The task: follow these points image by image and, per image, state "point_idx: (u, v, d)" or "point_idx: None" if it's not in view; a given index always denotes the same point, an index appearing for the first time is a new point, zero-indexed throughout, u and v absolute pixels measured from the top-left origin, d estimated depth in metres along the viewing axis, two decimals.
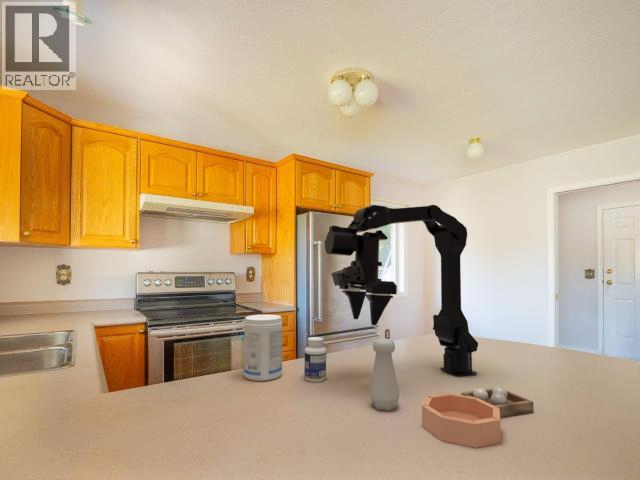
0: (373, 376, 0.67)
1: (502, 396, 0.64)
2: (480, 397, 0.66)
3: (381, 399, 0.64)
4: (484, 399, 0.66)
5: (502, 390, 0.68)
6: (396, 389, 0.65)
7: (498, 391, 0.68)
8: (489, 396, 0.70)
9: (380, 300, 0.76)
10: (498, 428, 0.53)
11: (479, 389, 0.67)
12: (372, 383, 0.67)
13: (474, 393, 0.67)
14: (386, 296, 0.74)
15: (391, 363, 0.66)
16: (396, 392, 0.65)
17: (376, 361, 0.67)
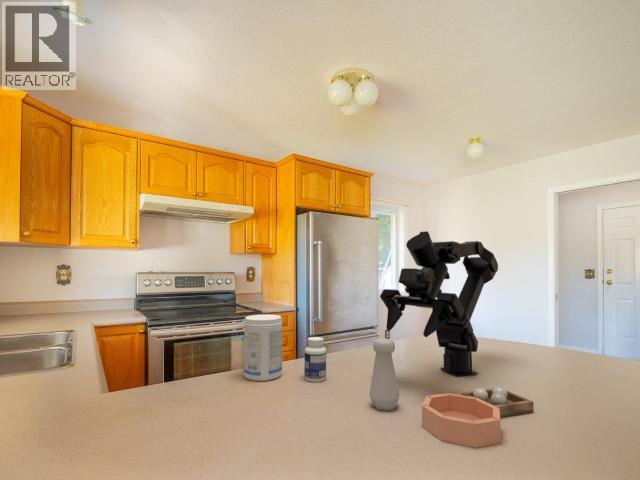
0: (373, 376, 0.67)
1: (502, 396, 0.64)
2: (480, 397, 0.66)
3: (381, 399, 0.64)
4: (484, 399, 0.66)
5: (502, 390, 0.68)
6: (396, 389, 0.65)
7: (498, 391, 0.68)
8: (489, 396, 0.70)
9: (440, 317, 0.72)
10: (498, 428, 0.53)
11: (479, 389, 0.67)
12: (372, 383, 0.67)
13: (474, 393, 0.67)
14: (452, 315, 0.72)
15: (391, 363, 0.66)
16: (396, 392, 0.65)
17: (376, 361, 0.67)
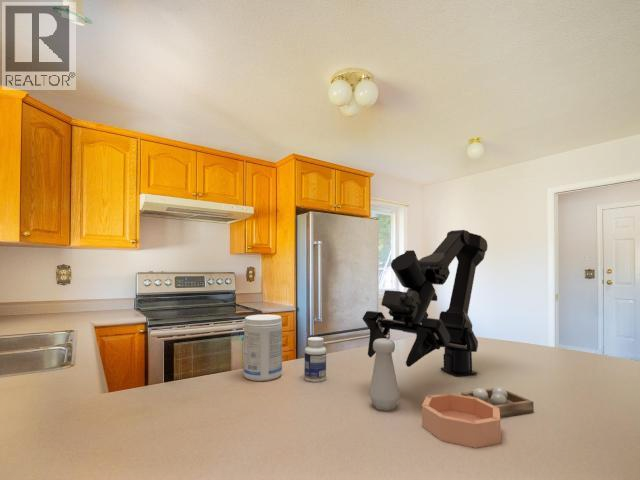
0: (373, 376, 0.67)
1: (502, 396, 0.64)
2: (480, 397, 0.66)
3: (381, 399, 0.64)
4: (484, 399, 0.66)
5: (502, 390, 0.68)
6: (396, 389, 0.65)
7: (498, 391, 0.68)
8: (489, 396, 0.70)
9: (425, 344, 0.67)
10: (498, 428, 0.53)
11: (479, 389, 0.67)
12: (372, 383, 0.67)
13: (474, 393, 0.67)
14: (437, 342, 0.66)
15: (391, 363, 0.66)
16: (396, 392, 0.65)
17: (376, 361, 0.67)
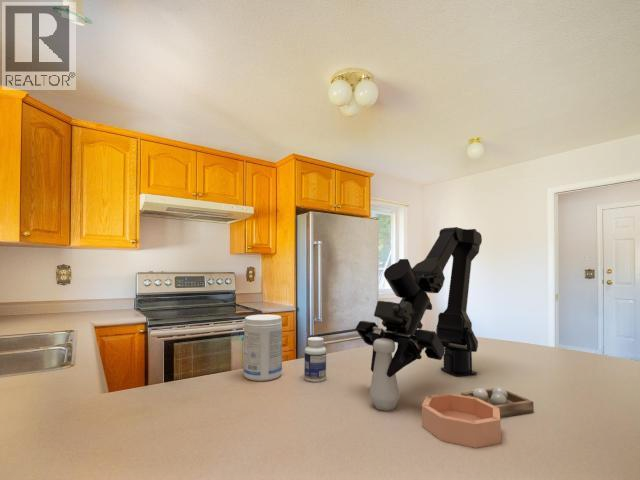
0: (373, 376, 0.67)
1: (502, 396, 0.64)
2: (480, 397, 0.66)
3: (381, 399, 0.64)
4: (484, 399, 0.66)
5: (502, 390, 0.68)
6: (396, 389, 0.65)
7: (498, 391, 0.68)
8: (489, 396, 0.70)
9: (406, 354, 0.67)
10: (498, 428, 0.53)
11: (479, 389, 0.67)
12: (372, 383, 0.67)
13: (474, 393, 0.67)
14: (418, 352, 0.66)
15: None
16: (396, 392, 0.65)
17: (376, 361, 0.67)
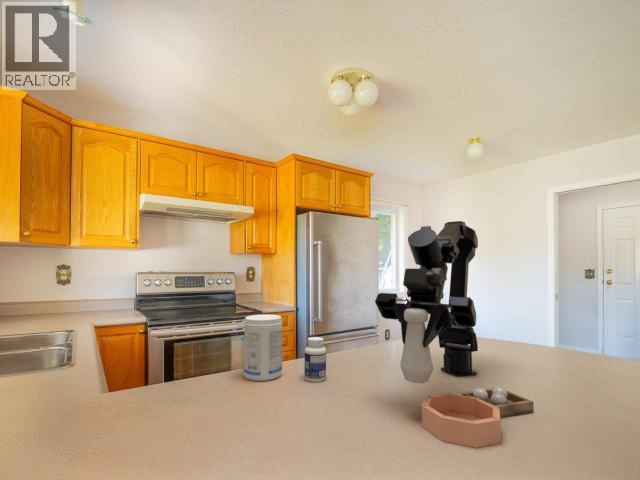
0: (406, 348, 0.62)
1: (502, 396, 0.64)
2: (480, 397, 0.66)
3: (418, 371, 0.60)
4: (484, 399, 0.66)
5: (502, 390, 0.68)
6: (430, 360, 0.62)
7: (498, 391, 0.68)
8: (489, 396, 0.70)
9: (437, 323, 0.64)
10: (498, 428, 0.53)
11: (479, 389, 0.67)
12: (405, 355, 0.62)
13: (474, 393, 0.67)
14: (450, 320, 0.64)
15: None
16: (431, 363, 0.61)
17: (409, 332, 0.62)
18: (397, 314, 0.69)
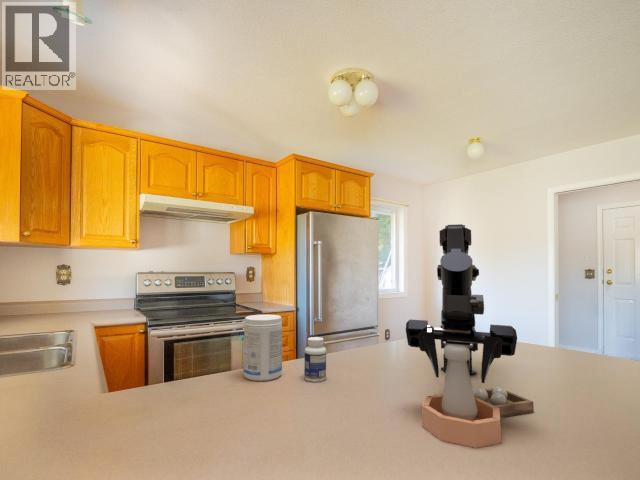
0: (450, 389, 0.57)
1: (502, 396, 0.64)
2: (480, 397, 0.66)
3: (467, 415, 0.56)
4: (484, 399, 0.66)
5: (502, 390, 0.68)
6: None
7: (498, 391, 0.68)
8: (489, 396, 0.70)
9: None
10: (498, 428, 0.53)
11: (479, 389, 0.67)
12: (450, 398, 0.57)
13: (474, 393, 0.67)
14: None
15: (468, 371, 0.58)
16: (475, 403, 0.58)
17: (453, 371, 0.58)
18: (421, 342, 0.64)
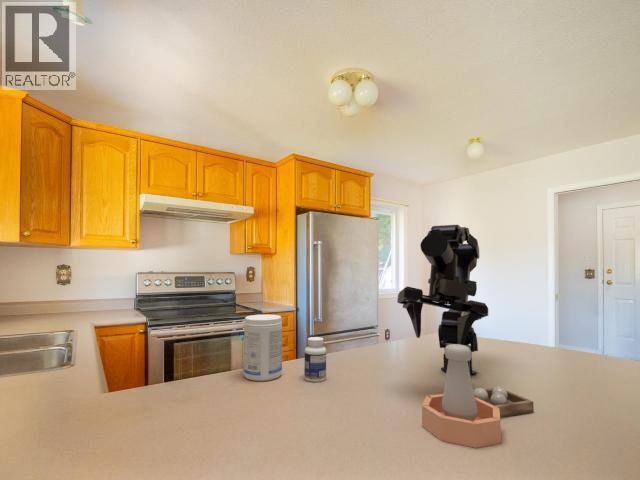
0: (451, 389, 0.57)
1: (502, 396, 0.64)
2: (480, 397, 0.66)
3: (467, 415, 0.56)
4: (484, 399, 0.66)
5: (502, 390, 0.68)
6: None
7: (498, 391, 0.68)
8: (489, 396, 0.70)
9: None
10: (498, 428, 0.53)
11: (479, 389, 0.67)
12: (450, 398, 0.57)
13: (474, 393, 0.67)
14: None
15: (469, 372, 0.58)
16: None
17: (454, 372, 0.58)
18: (407, 305, 0.75)
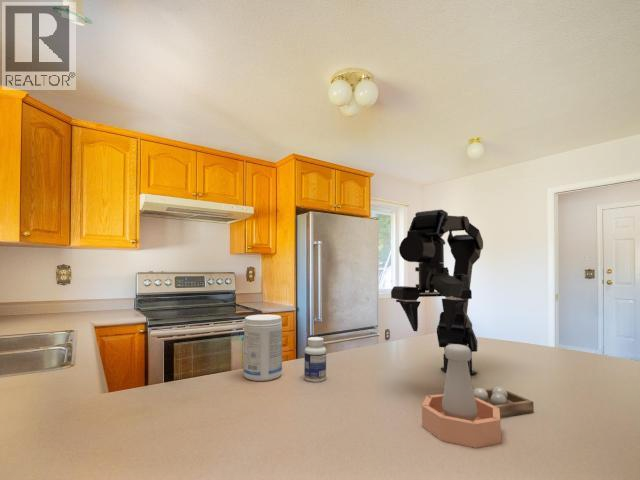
0: (451, 389, 0.57)
1: (502, 396, 0.64)
2: (480, 397, 0.66)
3: (467, 415, 0.56)
4: (484, 399, 0.66)
5: (502, 390, 0.68)
6: None
7: (498, 391, 0.68)
8: (489, 396, 0.70)
9: None
10: (498, 428, 0.53)
11: (479, 389, 0.67)
12: (450, 398, 0.57)
13: (474, 393, 0.67)
14: None
15: (469, 372, 0.58)
16: None
17: (454, 372, 0.58)
18: (403, 302, 0.77)
